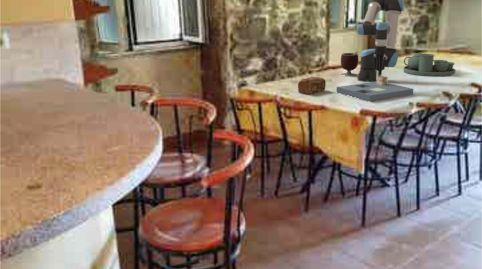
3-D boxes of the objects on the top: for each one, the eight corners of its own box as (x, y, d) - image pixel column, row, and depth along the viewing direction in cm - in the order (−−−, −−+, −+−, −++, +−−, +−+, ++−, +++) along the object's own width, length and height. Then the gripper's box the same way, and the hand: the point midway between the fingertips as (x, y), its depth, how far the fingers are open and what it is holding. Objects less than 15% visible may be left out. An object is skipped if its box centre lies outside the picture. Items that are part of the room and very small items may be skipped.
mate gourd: (336, 75, 389) (337, 50, 384) (347, 73, 397) (349, 48, 392) (351, 77, 378) (352, 52, 372) (362, 75, 386) (364, 50, 380)
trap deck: (378, 86, 342) (378, 81, 340) (412, 94, 315) (413, 88, 313) (336, 92, 324) (336, 86, 323) (369, 101, 298) (369, 95, 296)
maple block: (381, 83, 333) (382, 76, 332) (387, 84, 329) (387, 77, 327) (376, 83, 331) (376, 76, 329) (381, 85, 327) (382, 77, 325)
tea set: (463, 76, 376) (465, 55, 371) (412, 77, 376) (414, 56, 371) (443, 68, 414) (445, 49, 409) (396, 69, 414) (398, 49, 409)
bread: (308, 95, 320) (309, 80, 317) (296, 92, 327) (297, 78, 324) (326, 90, 332) (326, 76, 329) (314, 88, 339) (314, 74, 336)
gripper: (369, 45, 329) (367, 78, 336) (383, 46, 318) (380, 81, 325) (378, 44, 332) (375, 77, 339) (391, 46, 321) (389, 80, 328)
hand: (378, 79), depth 332 cm, fingers closed
